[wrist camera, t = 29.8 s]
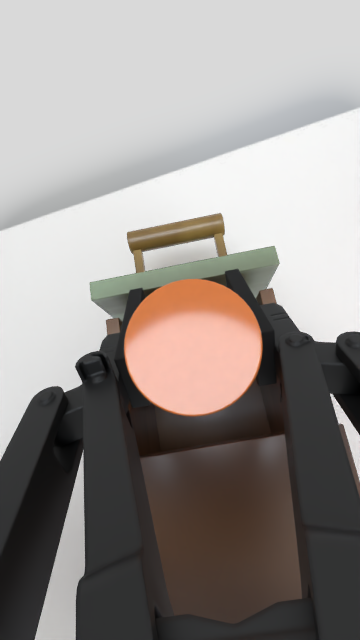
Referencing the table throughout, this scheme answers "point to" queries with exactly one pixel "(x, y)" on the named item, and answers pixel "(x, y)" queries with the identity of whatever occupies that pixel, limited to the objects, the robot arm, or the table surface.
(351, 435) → the table surface
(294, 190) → the table surface
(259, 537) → the cabinet
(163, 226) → the drawer
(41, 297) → the table surface
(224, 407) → the canister
